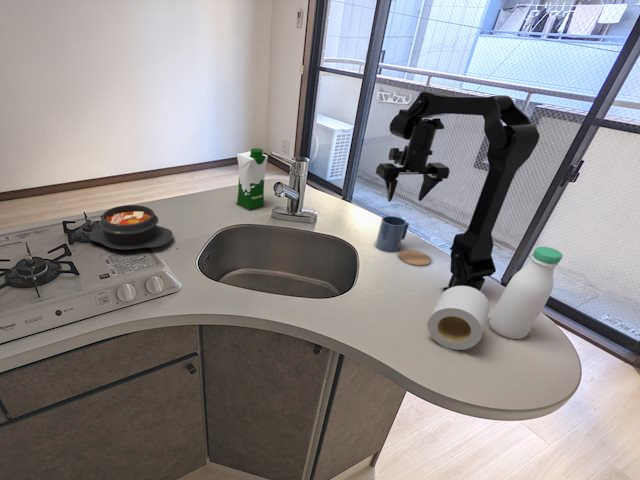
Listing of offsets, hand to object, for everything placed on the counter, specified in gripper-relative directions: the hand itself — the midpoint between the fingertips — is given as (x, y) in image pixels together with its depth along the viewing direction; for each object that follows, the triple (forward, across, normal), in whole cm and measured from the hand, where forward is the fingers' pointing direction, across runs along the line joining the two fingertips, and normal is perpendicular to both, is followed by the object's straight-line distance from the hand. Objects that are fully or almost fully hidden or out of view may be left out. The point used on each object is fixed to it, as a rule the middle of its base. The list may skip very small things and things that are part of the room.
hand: (404, 200), depth 113 cm
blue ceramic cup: (+14, +1, +1) cm, 14 cm away
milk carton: (+14, +40, -34) cm, 54 cm away
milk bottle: (+14, -9, +41) cm, 44 cm away
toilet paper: (+14, +5, +42) cm, 45 cm away
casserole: (+14, +79, -8) cm, 81 cm away
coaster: (+14, -3, +9) cm, 17 cm away
